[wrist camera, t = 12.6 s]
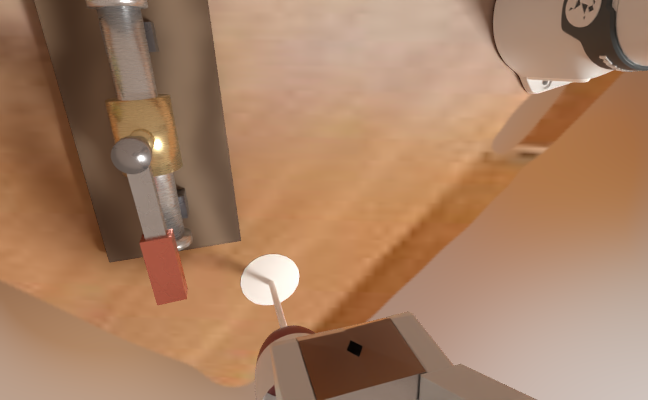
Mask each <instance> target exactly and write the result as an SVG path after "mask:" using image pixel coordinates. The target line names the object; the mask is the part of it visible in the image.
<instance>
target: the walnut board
mask: <svg viewBox="0 0 648 400" xmlns="http://www.w3.org/2000/svg"><path fill="white" fill-rule="evenodd" d="M34 2H35V6H36V9H37V13H38V16H39V20H40V23H41V26H42V30H43V33H44V37H45V40H46V44H47V47H48V51H49V54H50V58H51V61H52V65H53V68H54V72H55V75H56V79H57V82H58V86H59V89H60V93H61V96H62V99H63V103H64V106H65V110H66V113H67V117H68V120H69V124H70V127H71V131H72V134H73V138H74V141H75V145H76V148H77V152H78V155H79V159H80V162H81V165H82V169H83V172H84V176H85V179H86V183H87V186H88V190H89V193H90V197H91V200H92V204H93V207H94V211H95V214H96V218H97V221H98V225H99V228H100V232H101V235H102V238H103V242H104V245H105V249H106V252H107V256H108V259H109V262H115V261H122V260H128V259H134V258H140V257H143V254H142V250H141V247H140V240H141V237H142V234H143V230H142V227H141V223H140V219H139V216H138V212H137V209H136V205H135V202H134V198H133V195H132V191H131V187H130V184H129V180H128V177H125V176H124V175H123V174H122V171H120V170H118V169H117V168H116V167H115V165H114V164H113V162H112V160H111V150H112V148H113V146H114V145H115V142H114V138H113V133H112V129H111V125H110V121H109V117H108V113H107V109H106V105H105V100H107V99H112V98H117V95H116V91H115V86H114V82H113V78H112V74H111V69H110V65H109V61H108V57H107V54H106V50H105V46H104V42H103V38H102V34H101V29H100V25H99V19H98V14H97V10H95V9H88V8H87V5H86V1H85V0H34ZM147 3H148V8H145V9H141V13H142V18H143V22H152V23H154V27H155V32H156V37H157V43H158V48H159V52H149V54H150V59H151V64H152V69H153V74H154V79H155V84H156V89H157V94H169V95H170V98H171V103H172V109H173V114H174V119H175V125H176V130H177V135H178V141H179V146H180V151H181V157H182V162H183V167H182V168H180V169H179V170H177V171H175V172H173V175H174V180H175V185H176V190H177V189H185V191H186V196H187V202H188V207H189V214H188V218H184V219H182V220H183V225H184V227H185V228H188V229H190V230H191V233H192V238H193V241H192V243H191V244H190V245H189V246H188V247H186V248H185V249H183V250H188V249H194V248H201V247H207V246H213V245H219V244H225V243H231V242H237V241H241V237H240V230H239V222H238V215H237V208H236V201H235V194H234V186H233V179H232V172H231V165H230V158H229V150H228V143H227V136H226V129H225V122H224V115H223V107H222V100H221V93H220V86H219V79H218V71H217V64H216V57H215V50H214V43H213V35H212V28H211V21H210V14H209V7H208V0H147ZM180 251H182V250H180Z"/></svg>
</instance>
